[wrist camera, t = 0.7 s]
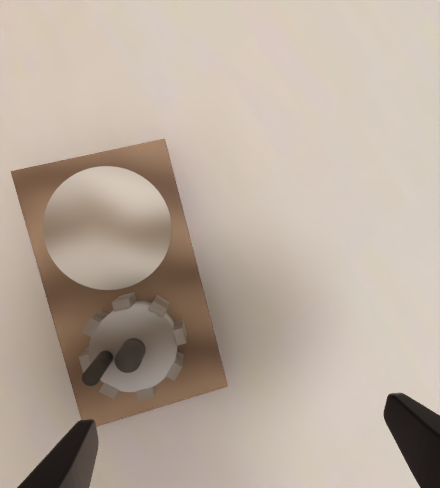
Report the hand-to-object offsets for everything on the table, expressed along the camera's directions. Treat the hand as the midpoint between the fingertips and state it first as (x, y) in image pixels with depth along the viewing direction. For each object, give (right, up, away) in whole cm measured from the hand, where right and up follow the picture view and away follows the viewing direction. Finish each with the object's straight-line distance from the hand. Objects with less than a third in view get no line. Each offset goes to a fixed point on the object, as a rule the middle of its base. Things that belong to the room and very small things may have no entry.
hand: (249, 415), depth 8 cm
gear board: (-8, +2, +13) cm, 16 cm away
